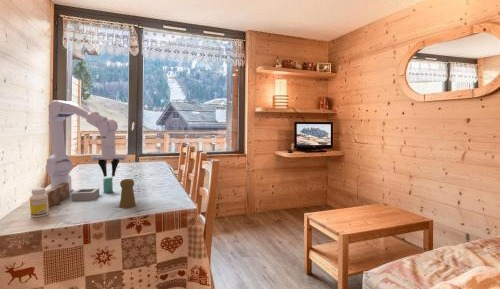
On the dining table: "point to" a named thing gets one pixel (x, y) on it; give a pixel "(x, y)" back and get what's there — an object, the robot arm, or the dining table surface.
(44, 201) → the supplement bottle
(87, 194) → the socket block
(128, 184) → the cork
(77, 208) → the dining table surface
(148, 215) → the dining table surface
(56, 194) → the rail
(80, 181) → the dining table surface
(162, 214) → the dining table surface
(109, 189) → the dowel
